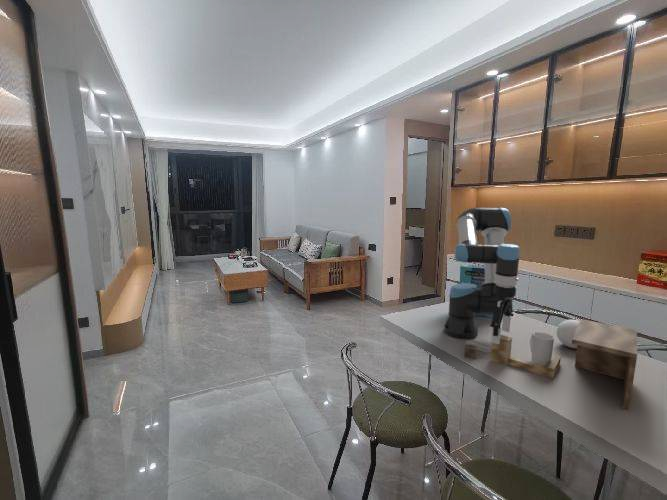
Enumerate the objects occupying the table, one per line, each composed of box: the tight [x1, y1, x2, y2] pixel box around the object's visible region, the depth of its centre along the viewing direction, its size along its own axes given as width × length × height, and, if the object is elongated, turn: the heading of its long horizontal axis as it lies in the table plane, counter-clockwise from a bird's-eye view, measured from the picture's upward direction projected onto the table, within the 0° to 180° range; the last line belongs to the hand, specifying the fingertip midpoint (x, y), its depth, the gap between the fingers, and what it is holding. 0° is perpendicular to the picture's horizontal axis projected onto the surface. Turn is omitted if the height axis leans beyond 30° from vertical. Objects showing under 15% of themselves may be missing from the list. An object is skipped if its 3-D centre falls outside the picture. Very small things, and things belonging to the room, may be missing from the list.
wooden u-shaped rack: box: [490, 334, 562, 379], centre depth 130 cm, size 21×14×10 cm, turn 48°
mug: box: [529, 331, 555, 368], centre depth 130 cm, size 10×7×12 cm, turn 4°
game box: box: [459, 263, 493, 319], centre depth 181 cm, size 20×6×27 cm, turn 66°
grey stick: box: [465, 340, 492, 354], centre depth 143 cm, size 10×2×2 cm, turn 43°
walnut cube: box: [464, 343, 477, 360], centre depth 136 cm, size 4×4×4 cm
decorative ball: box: [556, 319, 580, 349], centre depth 143 cm, size 12×12×12 cm
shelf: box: [572, 318, 638, 412], centre depth 114 cm, size 16×24×18 cm, turn 139°
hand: (500, 337), depth 131 cm, fingers open, 13 cm apart
